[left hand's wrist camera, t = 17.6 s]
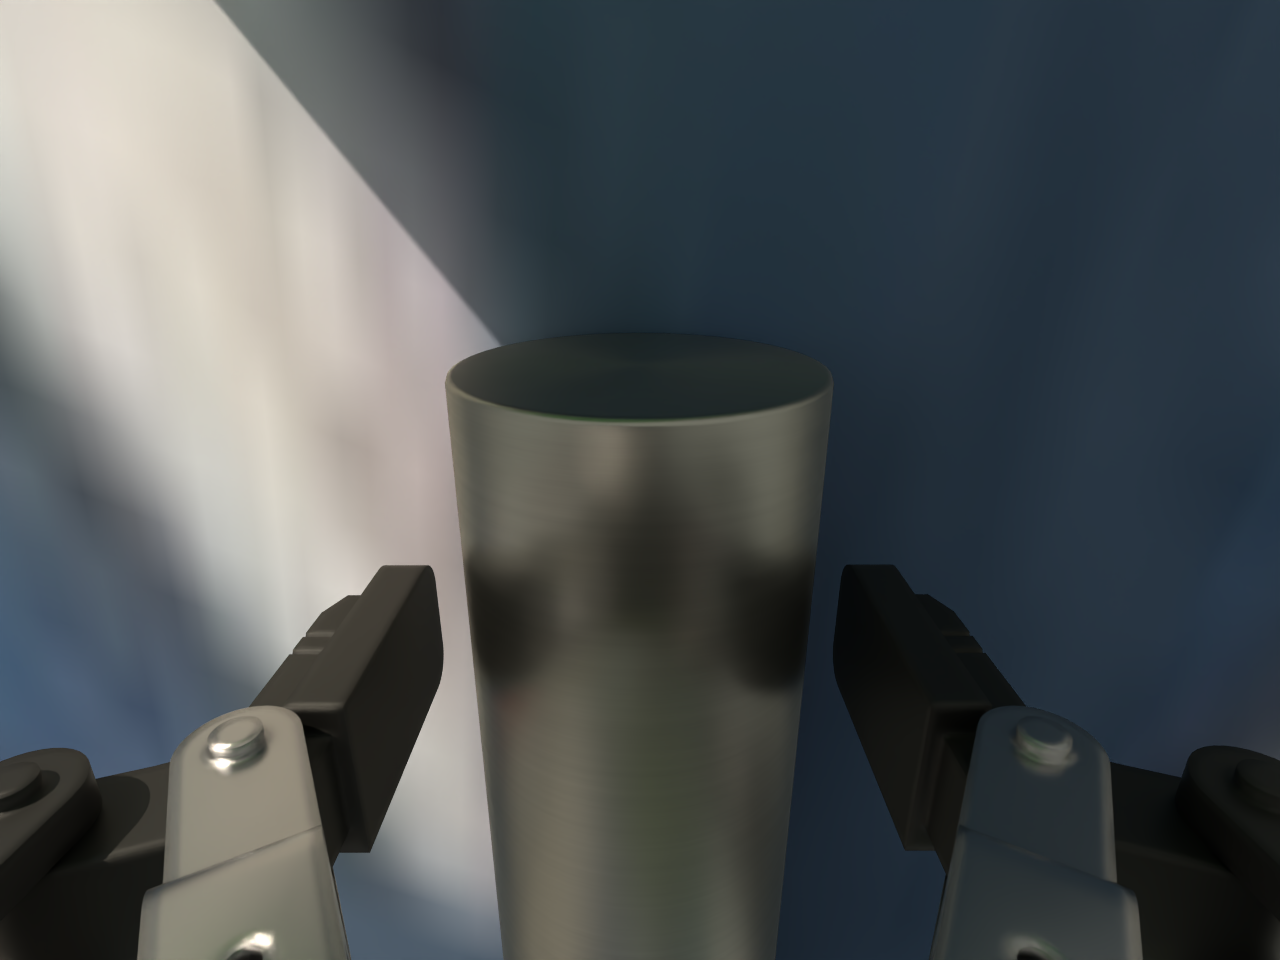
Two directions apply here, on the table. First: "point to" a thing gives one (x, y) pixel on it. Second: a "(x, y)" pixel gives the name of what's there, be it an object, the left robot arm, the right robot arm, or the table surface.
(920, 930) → the table surface
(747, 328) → the table surface
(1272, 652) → the table surface
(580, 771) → the rod
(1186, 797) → the left robot arm
